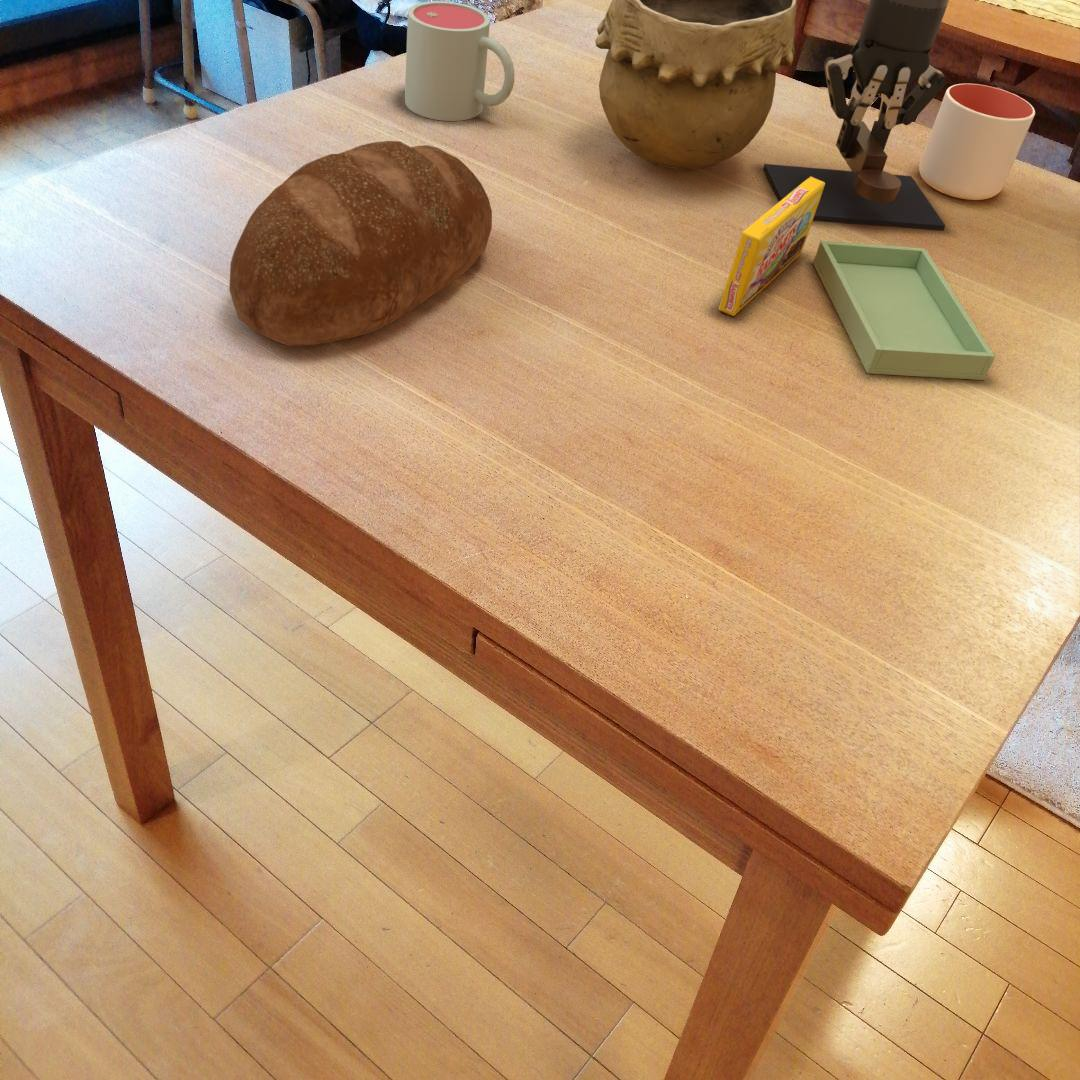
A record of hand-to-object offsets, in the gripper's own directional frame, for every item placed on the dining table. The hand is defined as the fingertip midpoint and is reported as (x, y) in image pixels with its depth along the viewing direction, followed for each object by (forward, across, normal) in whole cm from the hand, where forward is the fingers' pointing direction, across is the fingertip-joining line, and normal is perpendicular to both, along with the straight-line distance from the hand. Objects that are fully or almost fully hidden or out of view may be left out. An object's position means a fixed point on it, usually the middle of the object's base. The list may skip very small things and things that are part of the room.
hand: (857, 155), depth 122 cm
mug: (+4, -44, +13) cm, 46 cm away
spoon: (+1, 0, -3) cm, 3 cm away
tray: (+4, -3, -27) cm, 27 cm away
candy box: (+4, -15, -22) cm, 27 cm away
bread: (+5, -53, -26) cm, 59 cm away
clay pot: (+4, -20, +4) cm, 21 cm away
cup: (+4, +15, +4) cm, 16 cm away
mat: (+4, 0, -2) cm, 5 cm away
